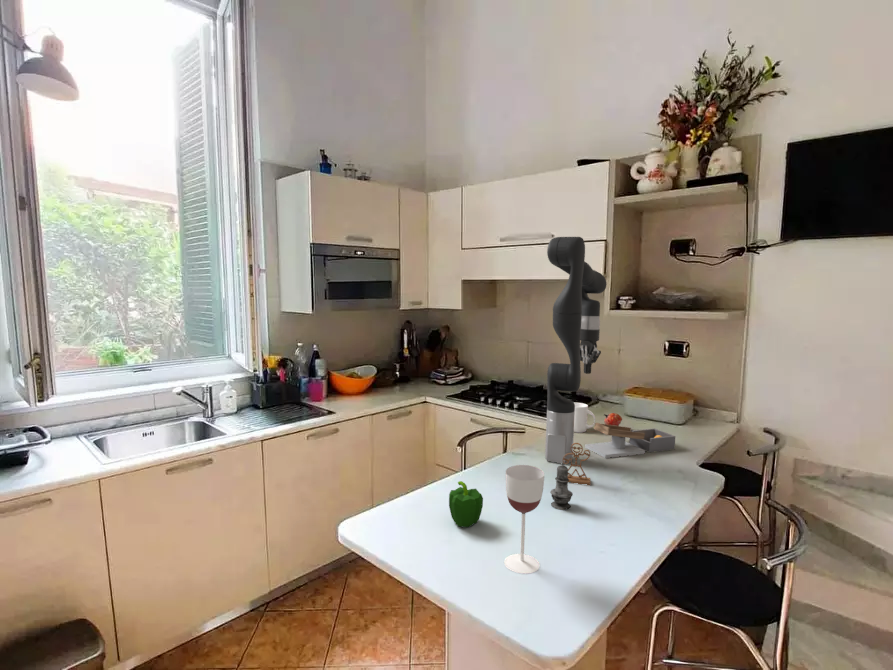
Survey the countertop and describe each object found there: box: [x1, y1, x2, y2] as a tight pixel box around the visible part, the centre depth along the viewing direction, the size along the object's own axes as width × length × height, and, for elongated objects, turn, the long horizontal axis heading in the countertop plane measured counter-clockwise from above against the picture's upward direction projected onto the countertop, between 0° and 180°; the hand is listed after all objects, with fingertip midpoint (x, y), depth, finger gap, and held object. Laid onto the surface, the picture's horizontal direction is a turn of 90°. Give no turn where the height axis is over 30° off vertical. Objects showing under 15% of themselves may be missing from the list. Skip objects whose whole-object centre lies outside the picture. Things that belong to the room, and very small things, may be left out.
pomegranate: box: [603, 412, 623, 426], centre depth 205 cm, size 7×7×10 cm
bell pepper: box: [448, 480, 484, 528], centre depth 121 cm, size 8×8×10 cm
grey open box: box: [628, 428, 676, 453], centre depth 183 cm, size 11×12×5 cm
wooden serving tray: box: [593, 422, 645, 440], centre depth 181 cm, size 15×16×2 cm
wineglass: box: [503, 464, 545, 575], centre depth 103 cm, size 8×9×20 cm
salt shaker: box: [550, 463, 574, 511], centre depth 131 cm, size 6×6×12 cm
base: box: [584, 436, 646, 459], centre depth 178 cm, size 12×17×6 cm
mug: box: [574, 402, 596, 434], centre depth 202 cm, size 9×12×11 cm
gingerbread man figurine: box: [563, 442, 591, 486], centre depth 148 cm, size 9×4×12 cm, turn 74°
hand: (587, 373), depth 185 cm, fingers closed
